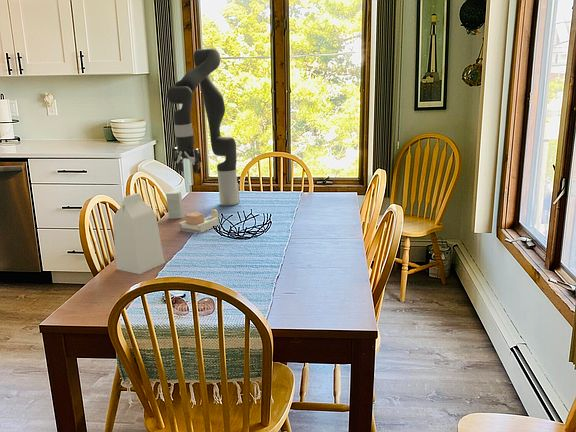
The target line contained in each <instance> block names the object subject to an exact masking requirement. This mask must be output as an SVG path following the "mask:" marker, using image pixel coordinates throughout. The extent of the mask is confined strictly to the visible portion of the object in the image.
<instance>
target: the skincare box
mask: <svg viewBox="0 0 576 432" xmlns="http://www.w3.org/2000/svg"><path fill="white" fill-rule="evenodd" d="M165 196H166V204H167V205H166V206H167V214H168V219H182V218H183V217H185V214H184V207H183V199H182V198H183V197H182V191H181V190H180V191H179V190H178V191H168V192H167V193H165Z"/></svg>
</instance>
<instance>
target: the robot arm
mask: <svg viewBox="0 0 576 432" xmlns="http://www.w3.org/2000/svg"><path fill="white" fill-rule="evenodd" d="M220 54H221V53H220V52H219V51H218V49H216V48H199V49H196V50H194V53H193V64H194V67H193V68H192V69H189V70H188V71H187V72H186V73H185V74H184V76H183V77H182V78H181V80H178V81H176V82H175V83H174V84H172V85H171V86H170V87H169V88H168V90H167V92H166V99H167V102H169V103H170V104H173V105H181V108H180V109H177V110H175V111H173V121H174V133H175V134H174V135H175V137H174V138H175V144H176V146H175V147H173V148H172V150H171V151H172V161H173V162H174V163H176V164H177V170H178V172H179V173H182V172H184V163H183V161H184V159H186V160H189V161H190V162H191V163H192V171H193V174H197V173H199V164H200V163H202V161H203V160H202V154H201V150H200V148H194V146H195V138H194V128H193V124H192V117H191V112H192V105H193V99H194V95H193V94H194V93H193V92H195V90H196V89H197V88H198V86H199V85H200V89H201V93H202V94H201V95H202V97H203V105H204V108H205V109H204V110H205V113H206V118H207V123H208V128H209V137H210V145H211V146H210V147H211V150H212V153H213V154H214V155H215V156H217V157H225V159H224V161H223V162H220V163H217V166H216V170H217V179H218V181H217V182H218V193H219V195H218V196H219V205H221V206H235V205H237V204H239V202H240V187H239V183H238V177H237V176H238V175H237V143H236V140H235V139H234V137H232V136H222V135H221V123H222V121H223V119H224V116H225V112H226V105H225V100H224V96H223V94H222V92H221V91H220V90H219V89H218V87H217V86H216V85H215V84H214V82H213V81H212V80H211V78H210V74H212V73H213V72H214V71H215V70H217V69H218V68H219V67H220V65H221V55H220Z"/></svg>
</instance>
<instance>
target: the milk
mask: <svg viewBox="0 0 576 432" xmlns="http://www.w3.org/2000/svg"><path fill="white" fill-rule="evenodd" d="M112 217H113V218H112V230H113V241H114V253H115V262H116V263H115V264H116V270H119V271H123V272H128V273H133V274H137V275H141V274H143V273H145V272H148V271H150V270H153V269H154V268H156V267H159V266H161V265H163V264H165V263H166V262H165V257H164V256H165V255H164V251H163V247H162V241H161V240H162V239H161V236H160V235H161V234H160V230H159V225H158V219H157V218H158V217H157V215H156V212H155V211H154V210H153V209H152V208H151V207H150V206H149V205H148V204H147V203H146V202H145V201H144V200H143V197H142V195H141V194H140V192H139V193H138V192H136V193H132V194H129V195H126V196H123V200H122V204H121V206H120V207H119V209H118V210H117V211H116V213H114V215H113V216H112Z"/></svg>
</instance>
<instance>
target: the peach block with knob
mask: <svg viewBox="0 0 576 432" xmlns="http://www.w3.org/2000/svg"><path fill="white" fill-rule="evenodd" d="M210 213H211V215H208V216H206V217H205V214H204V213H201V212H193V211H192V212H190V213H187V214H184V219H185V220H186V224H189V225H196V226H197V225H199V224H201V223H204V220H210V219H214V218H216V217H218V218H219V213H218V209H211V212H210ZM185 220H184V221H185Z"/></svg>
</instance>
